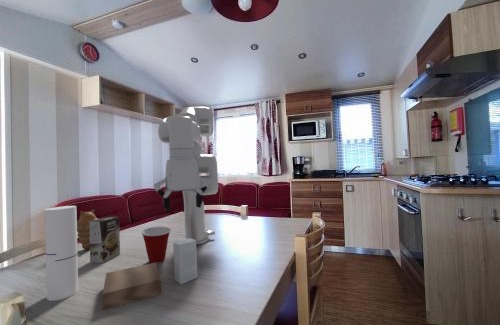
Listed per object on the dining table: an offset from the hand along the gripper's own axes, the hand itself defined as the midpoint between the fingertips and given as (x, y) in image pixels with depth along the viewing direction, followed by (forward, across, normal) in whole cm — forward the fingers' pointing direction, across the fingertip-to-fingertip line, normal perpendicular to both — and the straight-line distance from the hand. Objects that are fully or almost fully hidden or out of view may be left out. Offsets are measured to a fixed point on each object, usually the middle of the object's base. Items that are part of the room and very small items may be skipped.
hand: (183, 208), depth 74 cm
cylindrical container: (+22, +33, -12) cm, 41 cm away
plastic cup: (+22, +6, -22) cm, 32 cm away
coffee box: (+22, +24, -38) cm, 50 cm away
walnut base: (+22, +15, -2) cm, 27 cm away
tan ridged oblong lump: (+22, +32, -56) cm, 68 cm away
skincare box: (+22, 0, 0) cm, 23 cm away
